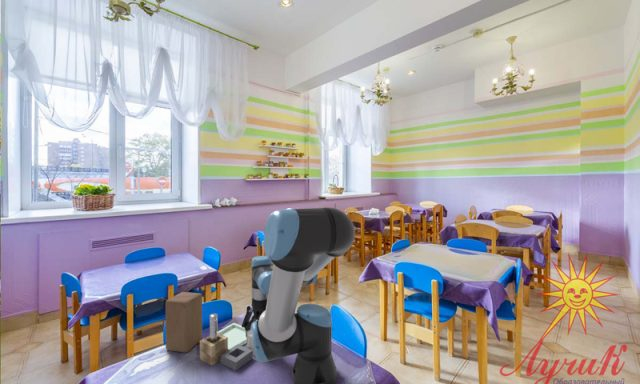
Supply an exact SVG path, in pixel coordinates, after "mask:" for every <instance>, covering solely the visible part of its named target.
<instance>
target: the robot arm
mask: <svg viewBox="0 0 640 384" xmlns="http://www.w3.org/2000/svg"><path fill="white" fill-rule="evenodd" d="M264 225H265V227H264V232H263V235H264V237H263V248H264V254H265V255H258V256H254V257H253V258H252V259H251V266H250V269H251V304H250V305H248V306H246V313H245V315H244V317H243V320H242V323H241V326H242V327H244V328H245V330H246V338H247V343H246V348H248V349H249V335H251V334H252V337H253V344H254V350H255V355H256V356H255V358H256V361H257V362H258V363H266V362H268V363H269V362H270V363H271V361H274V360H275V361H276V360H279V359H283V358H285V357H290V356H292V355H295V354H296V357H295V360H294V363H293V365H292V370H291V372H292V373H291V377H292V382H293V384H335V383H336V381H337V377H338V374H337V373H338V371H337V366H336V362H335V359H334V357H333V353H332V348H333V347H332V346H333V345H332V343H333V342H332V341H333V340H332V330H333V328H332V327H333V322H332V313H331V311H330V310H329V309H328V308H326V306H325V307H324V306H323V305H319V304H314V303H305V304H304V303H303V304H301V305H299V306H298V307H297V305H298V302H299V298H300V297H299V296H300V294H301V289H302V287H303V286H309V285H312V284H316V283H317V281H318V276H319V273H320V272H321V271H322V270H323V269H324V268H325V267H326V266H327V265H328V264H329V263H330V262H332V261H333V260H334V259H335V258H340V257H342V256H343V255H345V254H346V252H348V251H349V250H350V248H352V246H353V244H354V241H355V237H356V230H355V225H354V223H353V221H352V219H351V218H350V217H349V216H348V215H347V214H346V213H345V212H343V211H342V210H340V209H338V208H335V207H317V208H316V207H315V208H313V207H312V208H311V207H310V208H292V207H289V208H286V209H276V210H274V211H273V212H271V213H270V214H269V216H268V218H267V220H266V223H265V224H264ZM252 314H253V315H252Z"/></svg>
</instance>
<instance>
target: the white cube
mask: <svg viewBox="0 0 640 384" xmlns="http://www.w3.org/2000/svg"><path fill="white" fill-rule="evenodd" d="M248 349H250V350H252V351H253V357H256V355H255V350H254V344H253V337H252V334H251V335H249V347H248Z"/></svg>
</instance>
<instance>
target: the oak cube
mask: <svg viewBox="0 0 640 384" xmlns="http://www.w3.org/2000/svg"><path fill="white" fill-rule="evenodd" d="M226 351H228V337H226V336H224V335H221V334H219V333H218V341H216V342H214V343H211V342H210V335H208V336H205V338H202V340H200V342H199V360H200V361H202V362H204V363H206V364H208V365H210V366H214V365H216V364H217V363H219V362H221V355H222V354H223V353H225V352H226Z"/></svg>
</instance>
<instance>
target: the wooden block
mask: <svg viewBox="0 0 640 384" xmlns="http://www.w3.org/2000/svg"><path fill="white" fill-rule="evenodd" d="M202 339H203V294H202V293H199V292H198V293H197V292H188V291H181V292H179V293H178V294H175V295H174V296H171V297H170V298H169V299H167V300H166V301H165V349H166V350H167V351H172V352H180V353H188V352H190V351H191V350H192V349H193V348H194V347H195V346H196V345H198V344H200V340H202Z"/></svg>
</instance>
